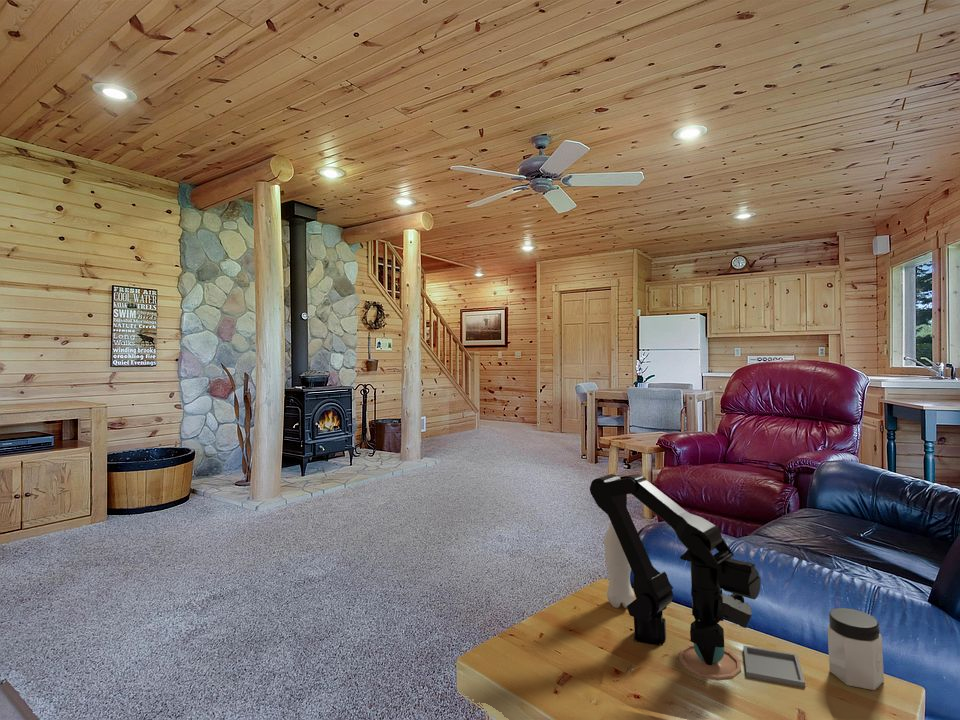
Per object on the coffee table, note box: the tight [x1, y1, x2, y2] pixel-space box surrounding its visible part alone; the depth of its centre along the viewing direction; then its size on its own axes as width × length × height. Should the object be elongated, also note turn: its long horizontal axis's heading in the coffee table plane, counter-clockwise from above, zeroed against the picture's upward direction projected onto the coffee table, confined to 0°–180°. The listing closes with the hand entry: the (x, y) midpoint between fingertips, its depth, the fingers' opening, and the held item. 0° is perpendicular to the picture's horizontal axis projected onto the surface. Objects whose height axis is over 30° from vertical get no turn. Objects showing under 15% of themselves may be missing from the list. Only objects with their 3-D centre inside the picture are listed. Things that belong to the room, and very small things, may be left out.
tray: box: [743, 645, 806, 688], centre depth 106 cm, size 10×10×2 cm
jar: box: [827, 607, 885, 691], centre depth 103 cm, size 9×8×12 cm
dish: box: [678, 643, 742, 681], centre depth 110 cm, size 12×12×1 cm
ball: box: [693, 643, 725, 664], centre depth 110 cm, size 6×6×6 cm
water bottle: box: [603, 522, 635, 609], centre depth 138 cm, size 7×7×25 cm
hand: (709, 656), depth 110 cm, fingers closed on ball, 6 cm apart
